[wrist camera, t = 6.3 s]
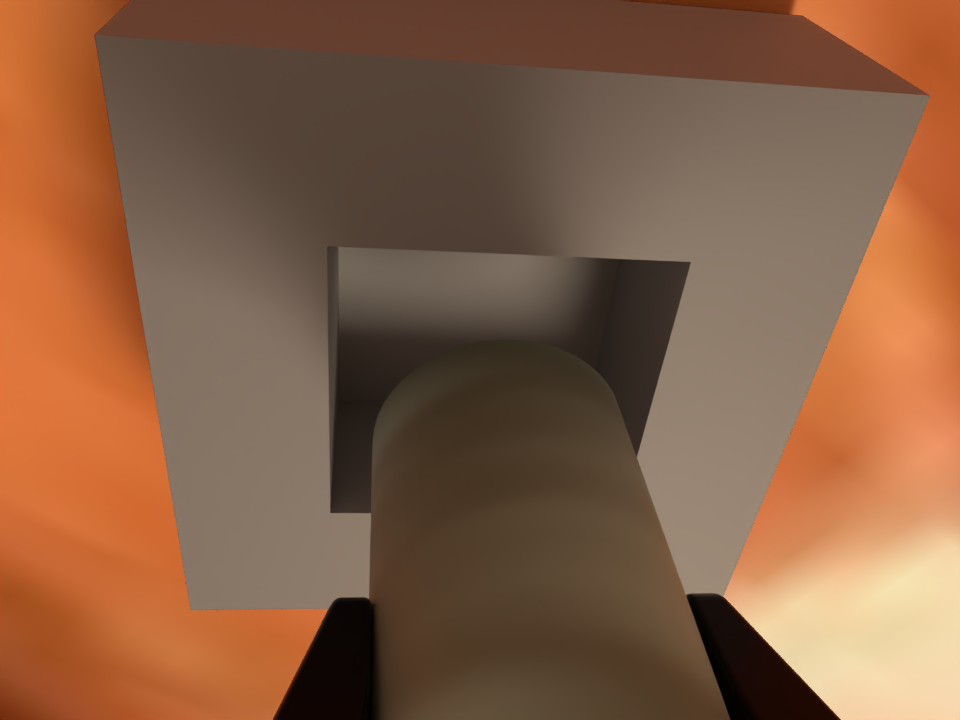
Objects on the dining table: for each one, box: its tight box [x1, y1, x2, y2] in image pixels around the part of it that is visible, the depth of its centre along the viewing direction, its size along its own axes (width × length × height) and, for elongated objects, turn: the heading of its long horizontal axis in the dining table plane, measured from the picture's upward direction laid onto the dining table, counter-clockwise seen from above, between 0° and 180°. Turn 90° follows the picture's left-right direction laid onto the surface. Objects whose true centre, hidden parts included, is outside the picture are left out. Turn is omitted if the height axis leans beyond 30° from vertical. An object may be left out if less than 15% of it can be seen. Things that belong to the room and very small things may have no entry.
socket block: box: [95, 0, 930, 610], centre depth 14 cm, size 10×10×4 cm
